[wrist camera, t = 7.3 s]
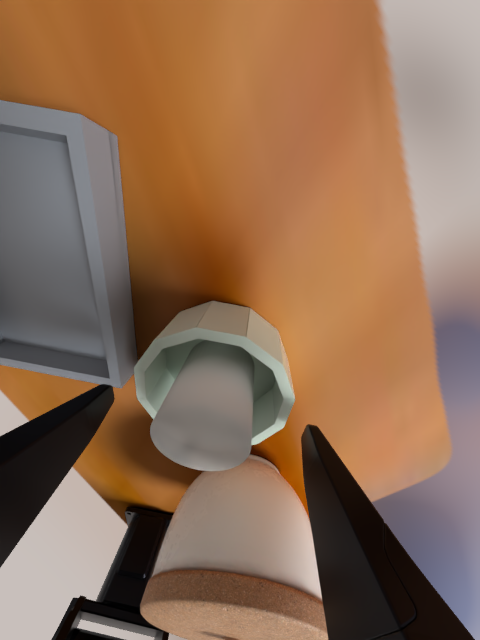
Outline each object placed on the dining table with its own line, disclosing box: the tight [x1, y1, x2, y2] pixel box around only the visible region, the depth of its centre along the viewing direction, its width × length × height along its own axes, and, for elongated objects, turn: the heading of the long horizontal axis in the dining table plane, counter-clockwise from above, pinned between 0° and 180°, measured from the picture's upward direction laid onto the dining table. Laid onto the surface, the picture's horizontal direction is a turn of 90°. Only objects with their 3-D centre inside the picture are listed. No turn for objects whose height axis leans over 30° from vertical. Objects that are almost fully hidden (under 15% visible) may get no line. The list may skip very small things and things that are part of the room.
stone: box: [150, 340, 254, 471], centre depth 10 cm, size 4×4×4 cm
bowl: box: [134, 301, 295, 445], centre depth 11 cm, size 8×8×3 cm
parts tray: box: [0, 100, 138, 388], centre depth 10 cm, size 12×9×2 cm
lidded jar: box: [140, 454, 328, 640], centre depth 14 cm, size 11×11×9 cm
